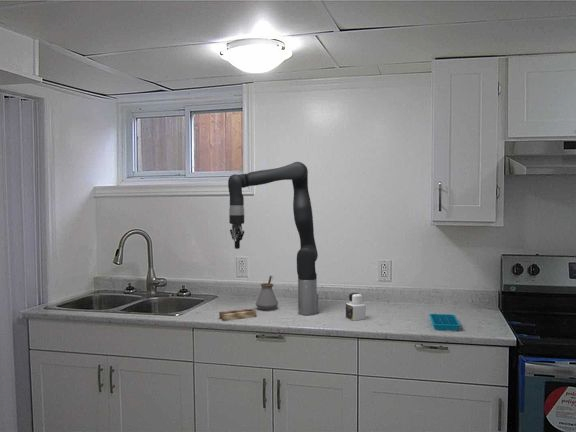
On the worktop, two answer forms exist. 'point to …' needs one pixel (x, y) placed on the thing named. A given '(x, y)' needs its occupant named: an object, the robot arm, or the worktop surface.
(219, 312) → the tong arm
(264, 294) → the coffee pot
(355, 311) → the medicine bottle
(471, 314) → the worktop surface
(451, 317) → the ice cube tray
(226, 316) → the tong base
